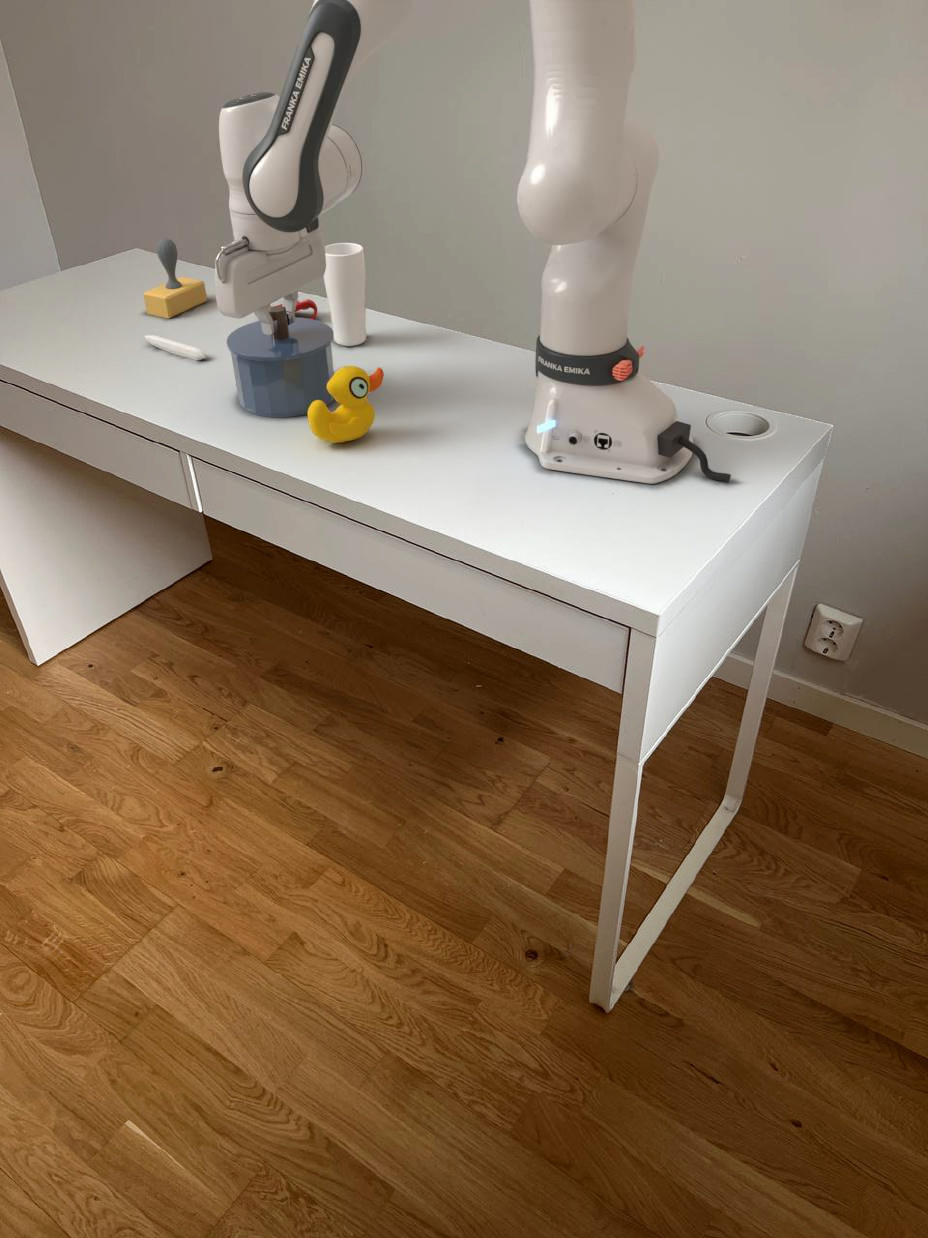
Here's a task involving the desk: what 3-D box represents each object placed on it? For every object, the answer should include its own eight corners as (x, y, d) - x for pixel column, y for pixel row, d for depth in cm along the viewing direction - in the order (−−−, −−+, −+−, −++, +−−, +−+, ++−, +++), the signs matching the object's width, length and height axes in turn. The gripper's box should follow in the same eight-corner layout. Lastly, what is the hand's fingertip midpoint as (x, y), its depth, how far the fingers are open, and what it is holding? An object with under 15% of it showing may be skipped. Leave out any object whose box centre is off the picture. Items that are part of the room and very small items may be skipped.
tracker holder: (258, 306, 178) (312, 289, 178) (267, 331, 180) (320, 314, 179) (251, 315, 167) (309, 296, 166) (261, 341, 169) (318, 323, 168)
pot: (354, 387, 153) (349, 332, 148) (296, 425, 143) (289, 368, 138) (279, 370, 159) (272, 316, 153) (219, 405, 149) (209, 349, 144)
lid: (355, 335, 148) (351, 300, 145) (291, 373, 137) (286, 336, 134) (272, 318, 154) (268, 284, 151) (205, 353, 144) (199, 317, 141)
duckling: (377, 420, 144) (372, 352, 138) (395, 434, 140) (391, 365, 134) (304, 440, 139) (295, 371, 133) (321, 456, 135) (313, 385, 129)
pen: (149, 341, 169) (147, 332, 168) (209, 359, 162) (207, 349, 161) (142, 344, 168) (140, 335, 167) (202, 362, 161) (200, 352, 160)
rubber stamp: (185, 296, 186) (172, 228, 179) (208, 301, 184) (197, 233, 177) (146, 313, 180) (131, 244, 172) (170, 318, 177) (156, 248, 170)
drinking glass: (321, 344, 166) (311, 252, 157) (344, 330, 171) (336, 240, 162) (356, 351, 164) (348, 257, 155) (378, 337, 169) (372, 245, 160)
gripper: (233, 252, 128) (249, 357, 136) (328, 211, 142) (338, 308, 150) (195, 246, 130) (213, 349, 138) (292, 206, 144) (304, 302, 153)
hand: (279, 328), depth 144 cm, fingers closed on lid, 2 cm apart
